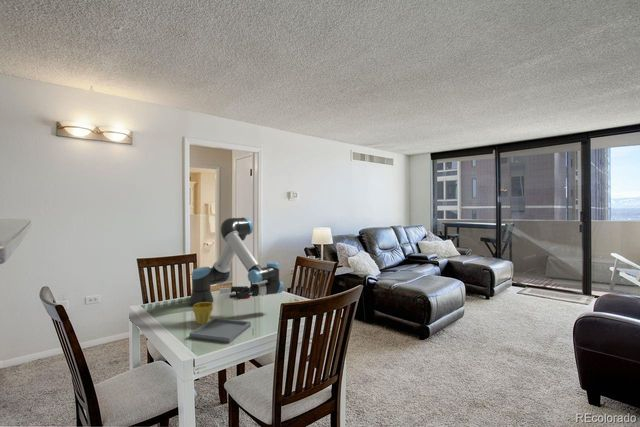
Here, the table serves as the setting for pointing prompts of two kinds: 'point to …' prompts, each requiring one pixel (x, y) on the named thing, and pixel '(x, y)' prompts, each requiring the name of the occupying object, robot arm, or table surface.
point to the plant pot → (202, 312)
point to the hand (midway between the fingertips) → (221, 294)
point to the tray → (220, 330)
